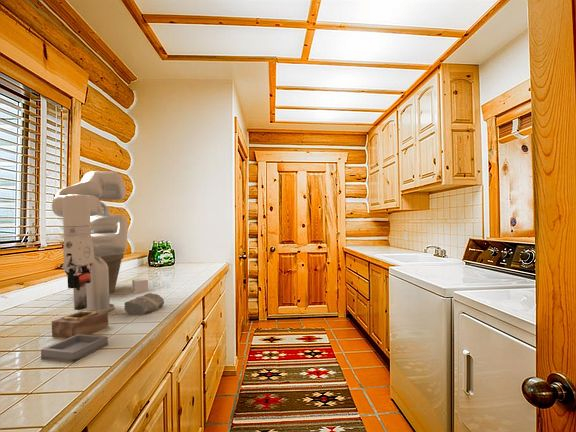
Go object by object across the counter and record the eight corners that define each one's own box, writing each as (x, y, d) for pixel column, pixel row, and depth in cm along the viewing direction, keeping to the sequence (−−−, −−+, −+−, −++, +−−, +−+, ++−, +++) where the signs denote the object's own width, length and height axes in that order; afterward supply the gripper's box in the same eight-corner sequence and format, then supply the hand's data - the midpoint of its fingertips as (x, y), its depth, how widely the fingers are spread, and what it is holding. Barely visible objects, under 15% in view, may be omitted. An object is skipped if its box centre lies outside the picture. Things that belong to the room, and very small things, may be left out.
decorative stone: (146, 305, 131) (145, 291, 131) (167, 306, 129) (167, 292, 129) (124, 316, 118) (123, 300, 118) (148, 316, 116) (147, 300, 116)
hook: (71, 312, 99) (70, 276, 99) (68, 308, 103) (66, 274, 103) (93, 307, 103) (92, 273, 103) (88, 304, 107) (87, 271, 107)
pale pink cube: (148, 291, 158) (147, 279, 158) (135, 293, 154) (135, 281, 154) (145, 289, 162) (144, 277, 162) (132, 291, 159) (132, 279, 159)
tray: (41, 358, 83) (40, 349, 83) (78, 342, 93) (78, 333, 93) (73, 362, 80) (72, 352, 80) (108, 344, 91) (107, 336, 91)
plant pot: (81, 302, 139) (79, 255, 139) (58, 296, 153) (56, 253, 153) (134, 290, 160) (133, 248, 160) (110, 285, 174) (108, 247, 174)
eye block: (52, 336, 99) (51, 319, 99) (83, 324, 109) (82, 308, 109) (79, 339, 96) (78, 321, 96) (108, 326, 106) (107, 310, 106)
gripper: (73, 233, 94) (76, 291, 95) (102, 229, 111) (104, 279, 112) (47, 234, 94) (50, 292, 94) (80, 230, 111) (82, 280, 111)
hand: (79, 284), depth 103 cm, fingers closed on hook, 6 cm apart
